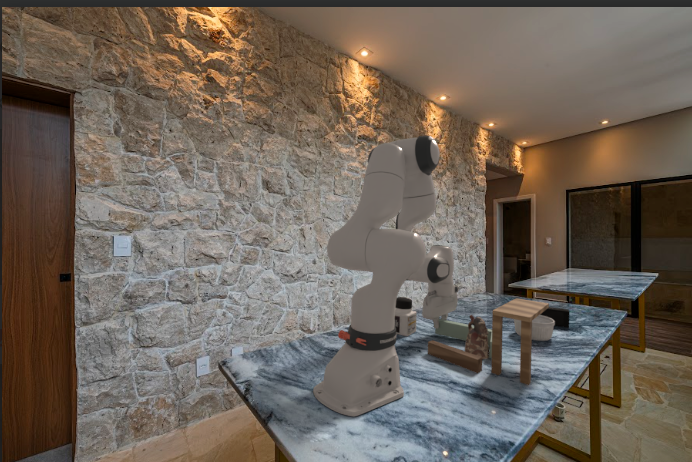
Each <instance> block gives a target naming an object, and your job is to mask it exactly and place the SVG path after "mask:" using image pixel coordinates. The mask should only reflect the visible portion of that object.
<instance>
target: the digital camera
mask: <svg viewBox="0 0 692 462" xmlns="http://www.w3.org/2000/svg"><path fill="white" fill-rule="evenodd" d="M540 315H542V316H546V317H549V318H551V319H553V320H554V321H555V325H554V327H560V328H567V329H569V328H570V310H569V309H568V308H561V307H553V306H549V308H547V309H546V310H545V311H544V312H542V313H541V314H540Z"/></svg>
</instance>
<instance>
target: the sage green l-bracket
mask: <svg viewBox="0 0 692 462" xmlns="http://www.w3.org/2000/svg"><path fill="white" fill-rule="evenodd" d="M438 320H439V323H440V328H438V329H436V328H434V329H435V330H434V334H435V335H439V336H445V337H449V338H451V339H452V338H453V339H456V340H461V341H465V342H466V339H467V335H468V332H469V328H468V324H466V323H462V322H458V321H451V320H448V319H447V320H443V319H441V318H439V319H438ZM472 328H473V329H474V325H472ZM487 329H488V331H487V332H488V333H489V334H488V335H487V337H488V347H489V358H488V359H492V329H491V328H487Z"/></svg>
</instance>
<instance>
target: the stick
mask: <svg viewBox="0 0 692 462" xmlns="http://www.w3.org/2000/svg"><path fill="white" fill-rule="evenodd" d="M427 355H429V356H432V357H435V358H437V359H439V360H441V361H444V362H447V363H449V364H452V365H456V366H457V367H460V368H463V369H466V370H467V371H470V372H473V373H476V374H480V372H482V371H483V359H482V357H480V356H477V355H474V354H471V353H468V352H466V351H465V350H463V349H459V348H456V347H454V346H451V345H448V344H445V343H441V342H439V341H435V340H430V341H427Z"/></svg>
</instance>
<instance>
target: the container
mask: <svg viewBox="0 0 692 462" xmlns="http://www.w3.org/2000/svg"><path fill="white" fill-rule="evenodd" d="M394 326H395V327H396V333H397V335H400V336H402V337H403V336H404V337H409V336H410V335H412V334H414V333H416V332H417V311H415V310H413V299H412V298H411V297H407V296H406V297H405V296H397V299H396V307H395V325H394Z"/></svg>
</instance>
